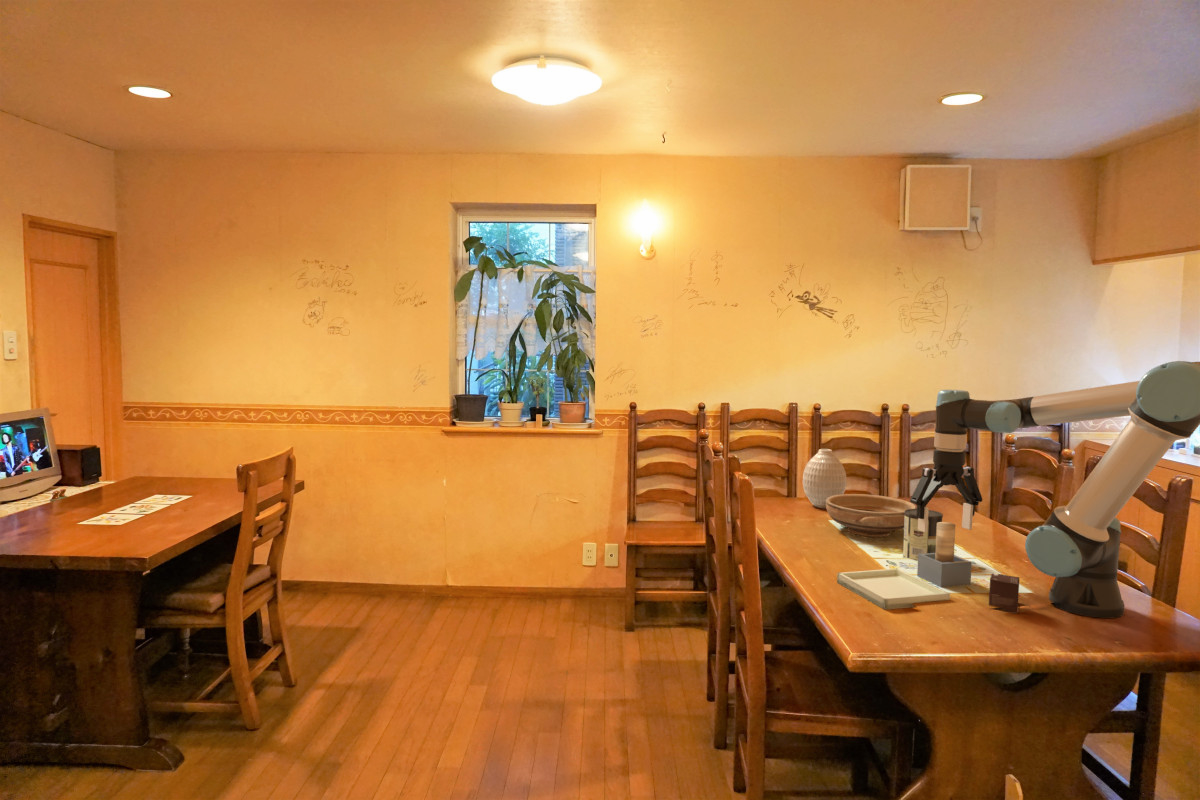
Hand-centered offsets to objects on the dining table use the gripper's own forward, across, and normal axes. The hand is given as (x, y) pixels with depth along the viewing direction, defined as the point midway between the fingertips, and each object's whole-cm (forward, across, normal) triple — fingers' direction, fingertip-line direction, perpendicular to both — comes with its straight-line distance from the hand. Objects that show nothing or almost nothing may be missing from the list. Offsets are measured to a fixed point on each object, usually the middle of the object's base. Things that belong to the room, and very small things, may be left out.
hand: (944, 529), depth 189 cm
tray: (+14, +18, +3) cm, 23 cm away
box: (+14, -2, +18) cm, 24 cm away
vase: (+16, -19, -89) cm, 92 cm away
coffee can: (+15, -9, -20) cm, 26 cm away
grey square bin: (+14, 0, 0) cm, 14 cm away
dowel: (+13, 0, 0) cm, 13 cm away
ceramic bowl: (+15, -13, -51) cm, 54 cm away
